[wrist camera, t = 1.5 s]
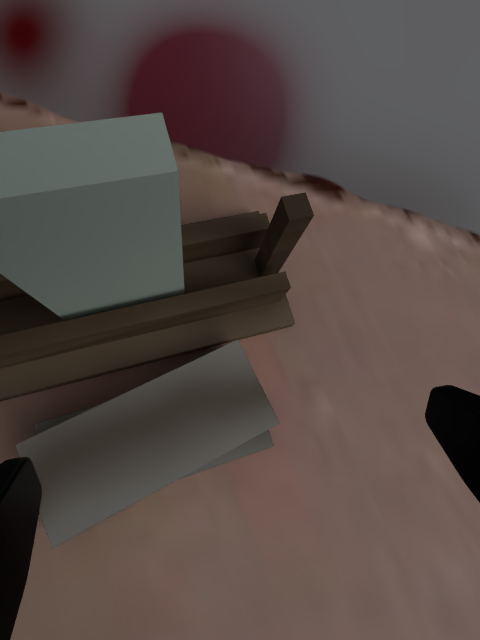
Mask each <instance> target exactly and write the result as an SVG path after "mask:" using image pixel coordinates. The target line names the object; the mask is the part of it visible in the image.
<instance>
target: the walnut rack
mask: <svg viewBox="0 0 480 640" xmlns="http://www.w3.org/2000/svg"><path fill="white" fill-rule="evenodd" d="M313 216H314V214H313V212H312V209H311V206H310V203H309V201H308V198H307V195H306V193H301V194H295V195H289V196H284V197H281V199H280V201H279V204H278V206H277V209H276V211H275V213H274V216H273V218H272V220H271V223H270V224H269V220H268V217H267V214H266V213H263V214H259V211H256V212H251V213H245V214H240V215H234V216H229V217H224V218H218V219H213V220H207V221H202V222H197V223H191V224H186V225H181V234H182V254H183V273H184V292H185V294H183V295H178V296H174V297H169V298H165V299H161V300H156V301H152V302H147V303H143V304H138V305H134V306H129V307H125V308H120V309H116V310H111V311H107V312H103V313H98V314H94V315H89V316H85V317H80V318H76V319H71V320H67V321H65V320H63V319H62V318H61V317H59V316H58V315H57V314H55V313H54V312H52V311H51V310H50V309H48V308H47V307H46V306H44V305H43V304H41V303H40V302H39V301H37V300H36V299H35V298H33V297H32V296H30V295H29V294H28V293H26V292H25V291H24V290H22V289H21V288H19V287H18V286H17V285H15V284H14V283H13V282H11V281H10V280H9V279H7V278H6V277H4V276H3V275H2V274H0V401H3V400H7V399H11V398H15V397H19V396H22V395H26V394H30V393H34V392H38V391H42V390H46V389H50V388H53V387H57V386H61V385H65V384H69V383H73V382H77V381H81V380H85V379H88V378H92V377H96V376H100V375H104V374H108V373H112V372H116V371H119V370H123V369H127V368H131V367H135V366H139V365H143V364H147V363H150V362H154V361H158V360H162V359H166V358H170V357H174V356H178V355H182V354H185V353H189V352H193V351H197V350H201V349H205V348H209V347H213V346H216V345H220V344H224V343H228V342H232V341H236V340H240V339H244V338H247V337H251V336H255V335H259V334H263V333H267V332H271V331H275V330H279V329H282V328H286V327H290V326H292V325H293V324H295V322H294V319H293V316H292V313H291V309H290V306H289V303H288V300H287V297H286V293H287V292H288V290H289V289H290V288H291V287H290V284H289V281H288V278H287V275H286V272H281V273H278V272H279V270H280V269H281V267H282V266H283V264H284V262H285V261H286V259H287V258H288V256H289V254H290V253H291V251H292V250H293V248H294V246H295V245H296V243H297V242H298V240H299V239H300V237H301V235H302V234H303V232H304V231H305V229H306V227H307V226H308V224H309V223H310V221H311V219H312V218H313Z"/></svg>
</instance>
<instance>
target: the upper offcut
mask: <svg viewBox="0 0 480 640" xmlns="http://www.w3.org/2000/svg"><path fill="white" fill-rule="evenodd" d="M279 423H280V422H279V420H278V418H277V416H276V414H275V412H274V410H273V408H272V406H271V404H270V402H269V400H268V398H267V396H266V394H265V392H264V390H263V388H262V386H261V384H260V382H259V380H258V378H257V377H256V375H255V373H254V371H253V369H252V367H251V365H250V363H249V361H248V359H247V357H246V355H245V353H244V351H243V349H242V347H241V345H240V343H239V341H238V340H236V341H234V342H232V343H230V344H228V345H225V346H223V347H221V348H219V349H217V350H215V351H213V352H211V353H209V354H206V355H204V356H202V357H200V358H198V359H196V360H194V361H192V362H190V363H187V364H185V365H183V366H181V367H179V368H177V369H175V370H173V371H170V372H168V373H166V374H164V375H162V376H160V377H158V378H156V379H154V380H151V381H149V382H147V383H145V384H143V385H141V386H139V387H137V388H135V389H132V390H130V391H128V392H126V393H124V394H122V395H120V396H118V397H115V398H113V399H111V400H109V401H107V402H105V403H103V404H101V405H99V406H96V407H94V408H92V409H90V410H88V411H86V412H84V413H82V414H80V415H77V416H75V417H73V418H71V419H69V420H67V421H65V422H63V423H61V424H58V425H56V426H54V427H52V428H50V429H48V430H46V431H44V432H41V433H39V434H37V435H35V436H33V437H31V438H29V439H27V440H25V441H22V442H20V443H18V444H16V445H15V446H16V449H17V451H18V454H19V457H28V458H30V459H31V461H32V463H33V465H34V468H35V470H36V473H37V475H38V478H39V480H40V483H41V486H42V499H41V504H40V510H39V512H40V515H41V518H42V521H43V523H44V526H45V529H46V532H47V534H48V537H49V540H50V543H51V545H52V548H54V547H56V546H58V545H60V544H62V543H63V542H65V541H67V540H69V539H71V538H73V537H74V536H76V535H78V534H80V533H82V532H83V531H85V530H87V529H89V528H91V527H92V526H94V525H96V524H98V523H100V522H102V521H103V520H105V519H107V518H109V517H111V516H112V515H114V514H116V513H118V512H120V511H121V510H123V509H125V508H127V507H129V506H131V505H132V504H134V503H136V502H138V501H140V500H141V499H143V498H145V497H147V496H149V495H150V494H152V493H154V492H156V491H158V490H160V489H161V488H163V487H165V486H167V485H169V484H170V483H172V482H174V481H176V480H178V479H179V478H181V477H183V476H185V475H187V474H189V473H190V472H192V471H194V470H196V469H198V468H199V467H201V466H203V465H205V464H207V463H208V462H210V461H212V460H214V459H216V458H218V457H219V456H221V455H223V454H225V453H227V452H228V451H230V450H232V449H234V448H236V447H237V446H239V445H241V444H243V443H245V442H247V441H248V440H250V439H252V438H254V437H256V436H257V435H259V434H261V433H263V432H265V431H266V430H268V429H270V428H272V427H274V426H276V425H277V424H279Z"/></svg>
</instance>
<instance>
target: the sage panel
mask: <svg viewBox="0 0 480 640" xmlns="http://www.w3.org/2000/svg"><path fill="white" fill-rule="evenodd" d="M0 274H2V275H3V276H4V277H6V278H7V279H9V280H10V281H11V282H13V283H14V284H15V285H17V286H18V287H19V288H21V289H22V290H24V291H25V292H26V293H28V294H29V295H30V296H32V297H33V298H35V299H36V300H37V301H39V302H40V303H41V304H43V305H44V306H46V307H47V308H48V309H50V310H51V311H52V312H54V313H55V314H57V315H58V316H59V317H61V318H62V319H63V320H65V321H67V320H71V319H76V318H80V317H85V316H89V315H94V314H98V313H103V312H107V311H111V310H116V309H120V308H125V307H129V306H134V305H138V304H143V303H147V302H152V301H156V300H161V299H165V298H169V297H174V296H178V295H183V294H185V292H184V273H183V254H182V234H181V215H180V195H179V176H178V168H177V165H176V161H175V158H174V154H173V150H172V147H171V143H170V140H169V136H168V133H167V129H166V125H165V122H164V118H163V115H162V113H156V114H147V115H138V116H130V117H122V118H113V119H106V120H97V121H88V122H80V123H72V124H63V125H55V126H47V127H38V128H30V129H22V130H13V131H5V132H0Z"/></svg>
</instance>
